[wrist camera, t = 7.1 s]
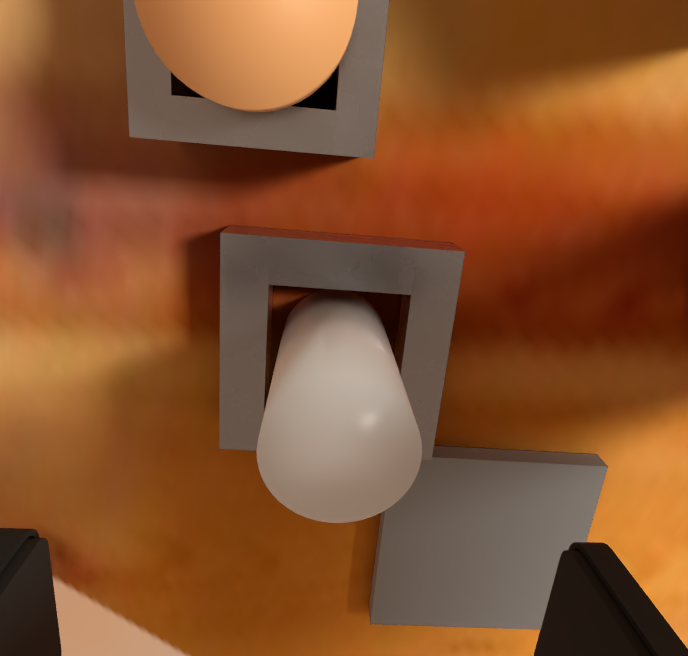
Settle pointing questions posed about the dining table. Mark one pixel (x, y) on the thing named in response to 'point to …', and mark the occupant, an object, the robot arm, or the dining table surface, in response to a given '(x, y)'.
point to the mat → (482, 537)
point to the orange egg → (250, 46)
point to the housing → (261, 127)
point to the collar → (341, 274)
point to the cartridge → (337, 414)
